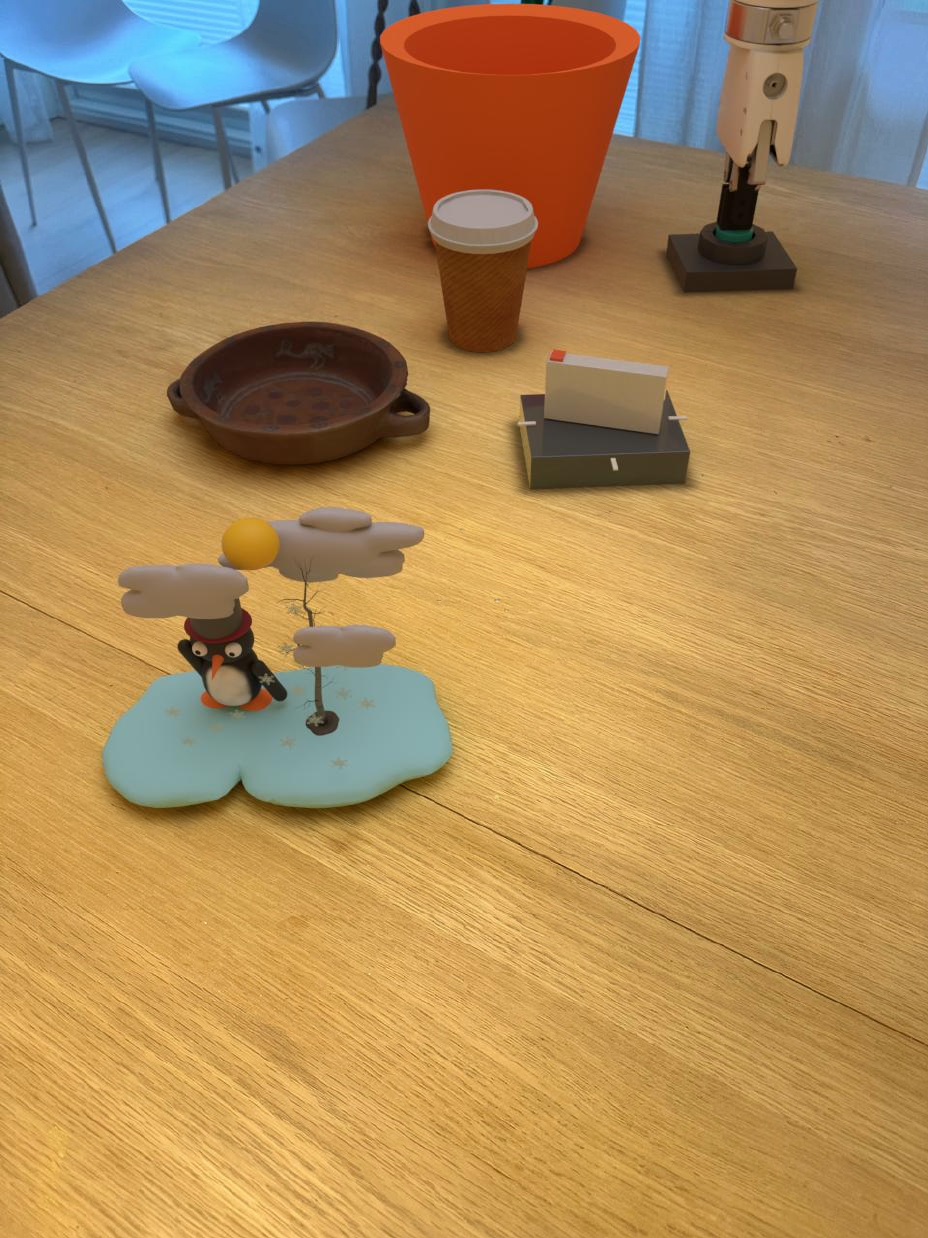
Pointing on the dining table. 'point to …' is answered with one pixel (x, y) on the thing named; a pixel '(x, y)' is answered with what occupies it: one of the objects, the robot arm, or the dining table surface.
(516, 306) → the disposable coffee cup
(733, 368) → the dining table surface
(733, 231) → the teal button
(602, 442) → the base
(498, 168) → the flowerpot
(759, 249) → the switch box
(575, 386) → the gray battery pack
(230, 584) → the penguin figurine
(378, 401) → the dish
